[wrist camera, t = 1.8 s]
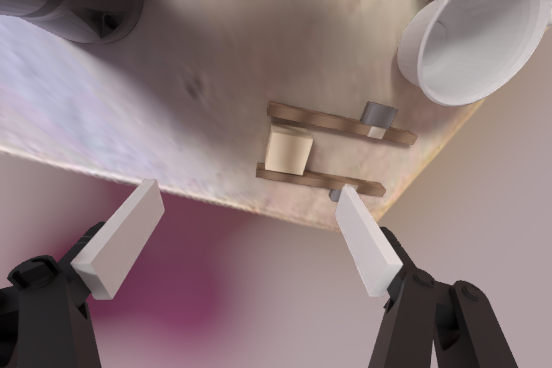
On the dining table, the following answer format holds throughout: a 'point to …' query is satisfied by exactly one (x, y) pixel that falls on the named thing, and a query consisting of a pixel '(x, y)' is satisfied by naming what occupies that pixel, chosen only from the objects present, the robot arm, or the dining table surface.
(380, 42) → the dining table surface
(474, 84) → the teacup
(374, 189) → the beam slot
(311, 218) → the dining table surface
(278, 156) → the block
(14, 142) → the dining table surface
